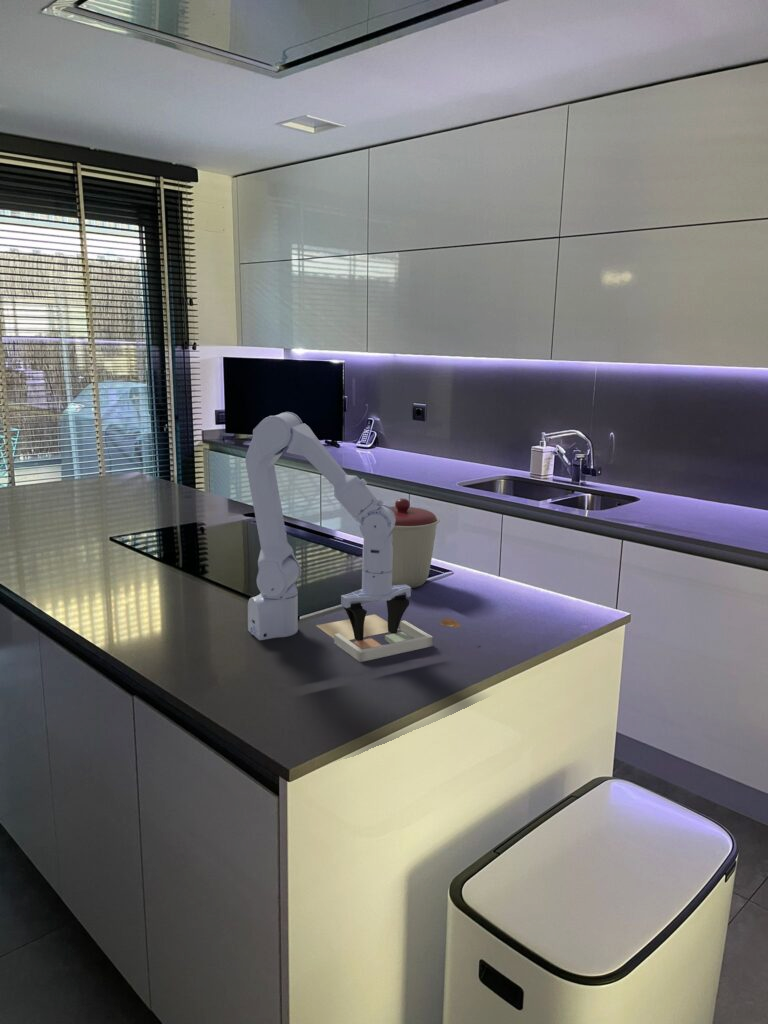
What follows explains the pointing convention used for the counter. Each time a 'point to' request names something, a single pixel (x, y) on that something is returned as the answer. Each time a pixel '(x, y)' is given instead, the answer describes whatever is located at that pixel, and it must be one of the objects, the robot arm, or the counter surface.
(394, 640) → the sage tile
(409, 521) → the canister
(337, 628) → the maple board
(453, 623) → the shard
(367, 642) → the terracotta tile
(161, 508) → the counter surface
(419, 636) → the tray
